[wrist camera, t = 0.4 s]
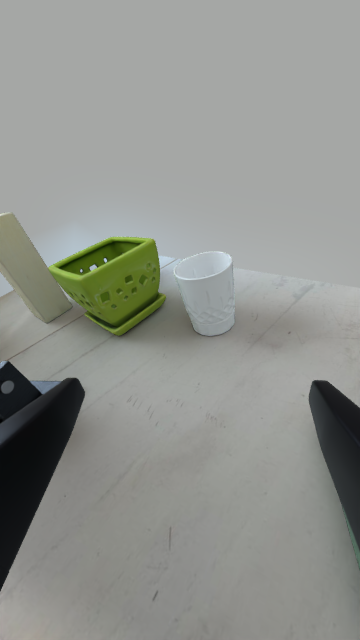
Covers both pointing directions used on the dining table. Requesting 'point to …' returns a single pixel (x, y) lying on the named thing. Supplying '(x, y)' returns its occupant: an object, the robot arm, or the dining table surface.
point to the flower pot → (113, 281)
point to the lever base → (18, 390)
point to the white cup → (208, 291)
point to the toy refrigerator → (29, 272)
